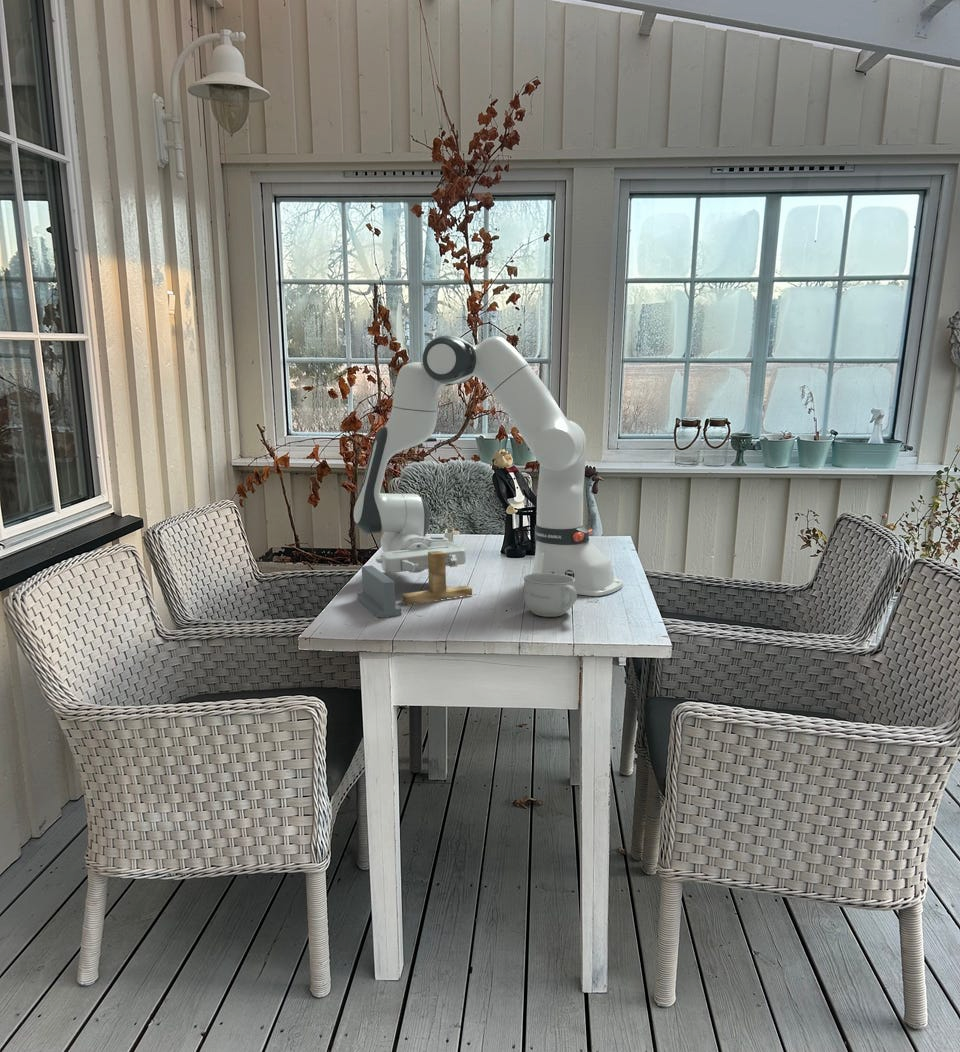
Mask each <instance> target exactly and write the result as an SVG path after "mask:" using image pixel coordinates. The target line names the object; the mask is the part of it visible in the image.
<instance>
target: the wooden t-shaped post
mask: <svg viewBox="0 0 960 1052" xmlns="http://www.w3.org/2000/svg"><path fill="white" fill-rule="evenodd" d="M446 567H447V566H446V565H445V553H444V552H442V551H432V552H428V569H427V570H428V589H427V590H423V591H421V590H420V591H413V592H406V593H401V602H402V603H403V602H404V603H405V604H404V603H403V604H404V605H406V606H409V605H408V604H412V605H415V604H414V603H419V604H423V603H422V602H426V603H430V602H429V601H434V602H436V601H435V600H441V599H447V598H454V597H460V596H467V595H472V596H473V588H472V587H470V586H469V585H467V584H466V585H457V586H453V587H447V580H446V579H447V574H446V573H447V572H446V571H447V570H446ZM441 601H442V600H441Z"/></svg>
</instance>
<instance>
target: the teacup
mask: <svg viewBox="0 0 960 1052" xmlns="http://www.w3.org/2000/svg"><path fill="white" fill-rule="evenodd" d="M523 579H524V587H523V588H524V589H523V591H524V592H523V596H524V597H523V599H524V604H525V606H526V607H527V608H528V610H530V611H531V613H532V614H534V615H536V616H541V617H547V618H549V617H552V618H553V617H560V616H563V615H564V614H565V613H566V612H568V611H570V609H571V608H572V606H574V604H575V603H576V602H577V598H578V594H577V593H576V590H575V588H574V583H575V579H574V578H573V577H571V576H567V575H562V574H555V573H535V574H532V573H530V574H526V575H525V576H524V577H523Z"/></svg>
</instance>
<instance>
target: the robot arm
mask: <svg viewBox="0 0 960 1052" xmlns="http://www.w3.org/2000/svg"><path fill="white" fill-rule="evenodd" d="M474 377H475V378H477V379H479V380H480V381H481V382H482V383H483V384H484V385H485V387H486V388H487V390H488V391H490V393H491V394H492V396H493V397H494V398H495V400H496V402H498V404H499V405H500V406H501V407H502V409H503V410H504V411H505V413H506V414H507V415H508V418H510V420H511V421H512V423H513V424H514V426H515V428H516V429H517V430H518V433H519V435H520V436H521V437H522V439H523V441H524V442H525V444H526V446H527V447H528V449H529V450H530V452H531V453H532V455H533V456H534V458H535V460H536V461H537V462H538V464H539V471H538V480H537V481H538V482H537V490H536V524H535V525H534V542H535V544H534V545H535V554H534V562H533V567H532V571H531V574H535V573H555V574H562V575H567V576H571V577H573V578H574V579H575V583H574V588H575V590H576V593H577V595H579V596H580V595H581V596H591V597H599V596H600V597H601V596H605V595H610V594H613V593H614V592H616V591H618V590H621V588H622V587H623V586H624V582H623V580H622V579H620V578H616V577H614V567H613V563H612V560H611V559H610V558H609V557H608V556H606V555H605V554H604V553H603V552H602V551H600V549H599V548H598V547H596V546H595V545H594V544H593V543H592V542H591V541H590V535H592V534H593V532H592V531H593V529H592V528H590V529H587V528H586V527H585V525H584V524H583V521H584V517H583V516H584V515H583V514H584V489H585V488H584V487H585V471H586V456H587V455H586V454H587V453H586V452H587V438H586V433H585V432H584V430H583V428H582V427H581V426H580V425H579V424H578V423H576V422H575V421H572V420H569V419H567V417H566V416H565V414H564V413H563V411H562V410H561V409H560V407H559V405H558V403H557V402H556V400H555V398H554V397H553V395H552V394H551V392H550V390H549V389H548V387H547V386H546V385H545V384H544V382H543V381H542V380H541V378H540V377H539V375H538V374H537V373H536V372H535V371H534V369H533V368H532V366H531V365H530V364H529V363H528V361H527V360H526V359H525V357H524V356H522V354H521V353H520V352H519V351H518V349H516V348H515V347H514V346H513V345H512V344H511V343H509V341H507V340H506V339H505V337H501V336H498V335H494V336H489V337H487V338H484V339H483V340H481V342H479V343H478V344H473V343H472V342H471V341H469V340H467V339H463V338H462V337H459V336H456V335H455V336H453V335H440V336H437V337H435V338H433V339H432V340H430V341H429V342H428V343H427V344H426V346H425V347H424V351H423V353H422V361H420V362H419V361H414V362H409V363H406V364H404V365H402V366H401V368H400V369H399V371H398V374H397V378H396V380H395V381H396V382H395V387H394V391H393V397H392V407H391V412H390V415H389V418H388V420H387V422H386V423H385V424H384V426H383V427H380V428H378V430H377V431H376V433H375V435H374V438H373V442H372V444H371V448H370V452H369V455H368V459H367V464H366V467H365V470H364V471H365V472H364V476H363V479H362V483H361V487H360V490H359V493H358V496H357V497H356V498H357V499H356V500H355V505H354V507H353V521H354V524H355V525H356V526H357V527H358V529H360V530H361V531H362V532H364V533H365V534H366V535H369V534H380V533H382V535H381V537H380V547H381V550H382V552H381V555H380V556H379V557H375V562H376V563H378V564H380V565H381V569H382V571H384V572H385V573H388V574H390V573H391V574H394V573H403V572H409V573H413V574H414V573H415V574H417V573H420V572H421V573H422V572H423V571H425V570H428V552H432V551H442V552H444V553H445V565H446V567H450V568H455V567H458V566H460V565H465V564H466V562H467V552H466V551H467V550H466V549H465V548H464V547H463V546H461V545H460V544H458V543H455V542H453V543H452V542H449V540H448V539H447V538H445V537H436V536H435V537H434V536H433V537H432V536H431V537H430V536H426V535H427V533H428V531H429V528H430V522H431V513H430V507H429V505H428V503H427V502H426V501H425V499H424V498H423V497H422V496H421V495H420V494H418V493H381V489H382V486H383V482H384V478H385V473H386V470H387V466H388V463H389V461H390V459H391V458H393V457H394V456H395V455H396V454H398V453H400V452H402V451H404V450H407V449H408V450H409V449H411V448H414V447H416V446H418V445H421V444H422V443H424V442H426V441H427V440H428V439H430V437H431V436H432V435H433V434H434V432H435V429H436V425H437V420H438V419H437V417H438V410H439V409H438V407H439V398H440V393H441V391H442V389H443V388H444V387H449V386H452V385H453V386H454V385H458V384H464V383H467V382H468V381H470V380H471V379H474Z"/></svg>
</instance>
